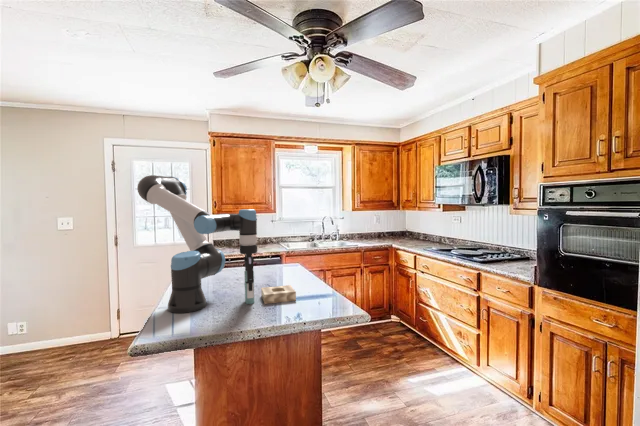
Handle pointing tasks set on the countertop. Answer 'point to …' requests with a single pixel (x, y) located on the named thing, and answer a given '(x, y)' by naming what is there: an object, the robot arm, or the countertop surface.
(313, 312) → the countertop surface
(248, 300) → the dowel
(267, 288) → the socket block
